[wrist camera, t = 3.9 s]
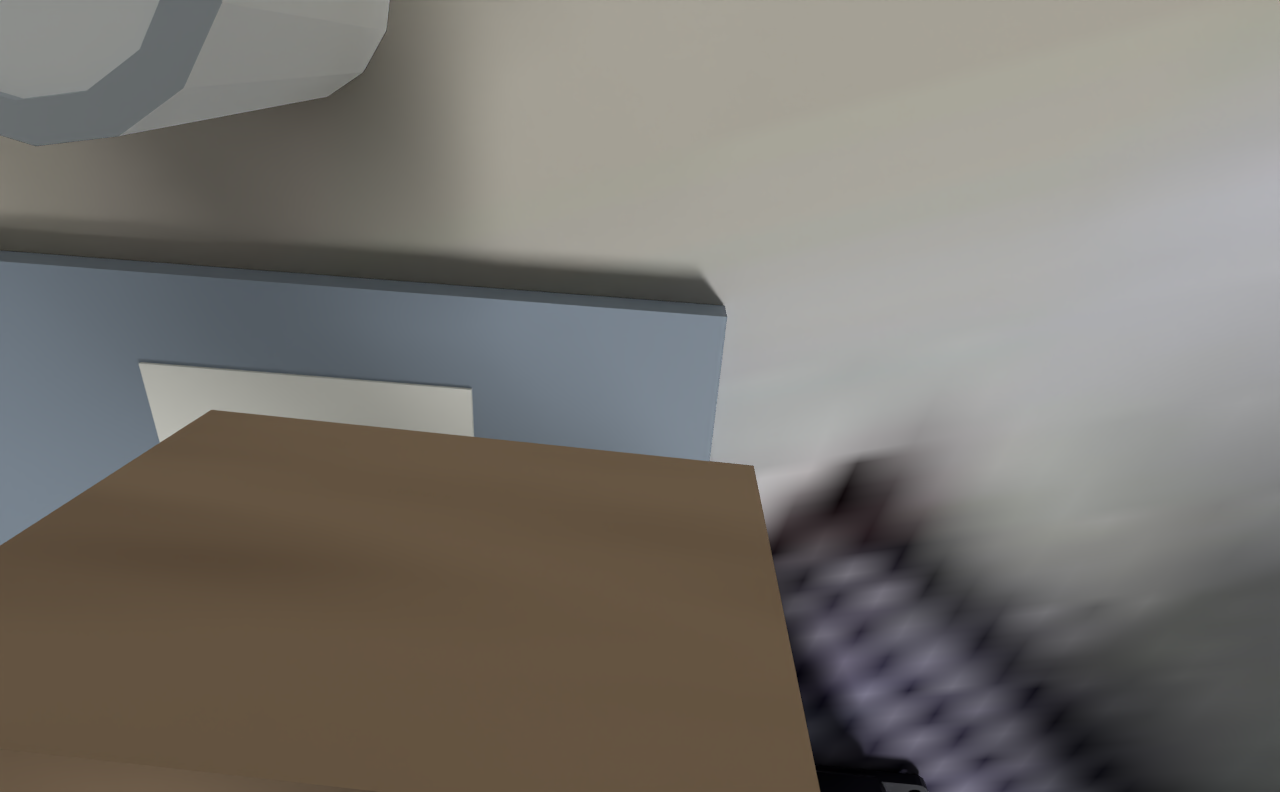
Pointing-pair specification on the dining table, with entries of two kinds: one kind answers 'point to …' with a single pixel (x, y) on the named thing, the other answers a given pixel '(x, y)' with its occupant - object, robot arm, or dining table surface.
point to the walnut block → (398, 621)
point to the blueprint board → (327, 364)
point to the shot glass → (171, 61)
